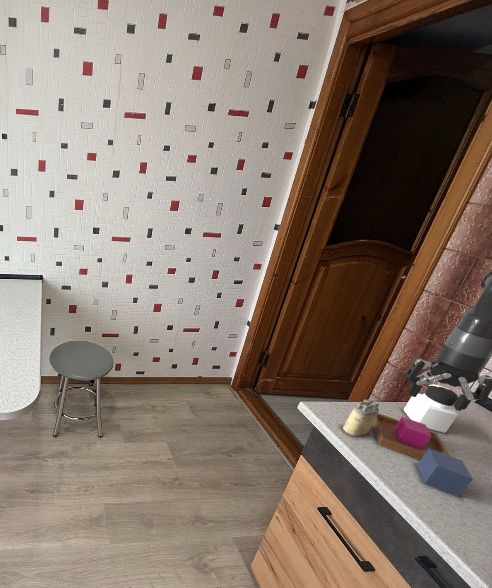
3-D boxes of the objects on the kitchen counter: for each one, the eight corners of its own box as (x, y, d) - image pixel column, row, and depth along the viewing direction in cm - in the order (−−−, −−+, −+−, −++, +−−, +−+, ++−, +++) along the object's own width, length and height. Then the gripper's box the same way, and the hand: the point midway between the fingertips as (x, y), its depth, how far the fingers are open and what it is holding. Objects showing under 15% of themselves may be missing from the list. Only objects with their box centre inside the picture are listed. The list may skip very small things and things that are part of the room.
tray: (433, 438, 92) (436, 433, 92) (449, 470, 83) (454, 465, 82) (370, 416, 99) (373, 411, 98) (378, 444, 89) (382, 438, 88)
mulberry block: (416, 437, 91) (425, 424, 89) (421, 450, 87) (431, 436, 85) (393, 429, 94) (401, 416, 92) (397, 441, 90) (406, 427, 88)
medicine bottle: (445, 433, 95) (469, 401, 90) (415, 426, 97) (437, 393, 92) (430, 416, 101) (451, 385, 96) (402, 409, 103) (421, 378, 98)
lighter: (357, 423, 95) (373, 396, 91) (371, 434, 92) (388, 406, 88) (339, 427, 94) (354, 400, 89) (352, 438, 90) (368, 410, 86)
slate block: (448, 477, 81) (462, 460, 78) (458, 496, 76) (473, 479, 74) (416, 465, 84) (428, 448, 81) (424, 483, 79) (437, 465, 76)
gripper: (502, 351, 78) (465, 404, 85) (422, 332, 85) (394, 383, 91) (519, 366, 72) (479, 422, 79) (433, 345, 79) (402, 398, 85)
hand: (433, 401), depth 85 cm, fingers open, 8 cm apart
